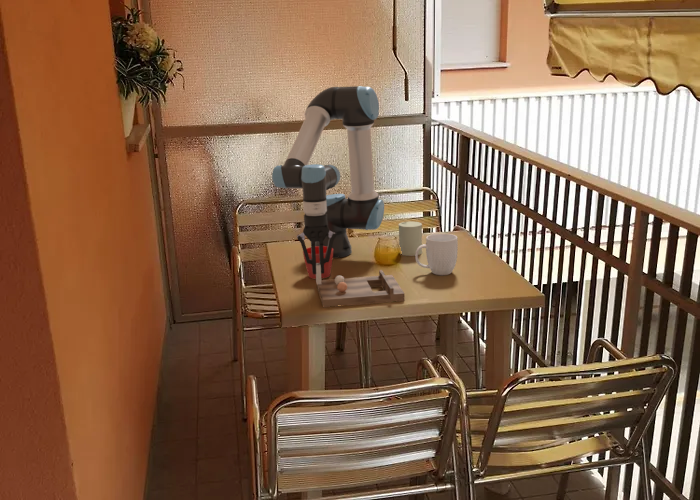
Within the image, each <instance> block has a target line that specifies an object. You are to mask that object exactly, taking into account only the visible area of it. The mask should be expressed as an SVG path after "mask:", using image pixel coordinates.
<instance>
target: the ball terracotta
mask: <svg viewBox="0 0 700 500" xmlns="http://www.w3.org/2000/svg"><path fill="white" fill-rule="evenodd" d="M337 288H338V290H339V291H340V292H344V291H346V289H347V284H346V283H345V282H340V283H339V284H338V286H337Z"/></svg>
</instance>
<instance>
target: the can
mask: <svg viewBox="0 0 700 500" xmlns="http://www.w3.org/2000/svg"><path fill="white" fill-rule="evenodd" d="M422 229H423V224H422V222H419V221H413V220H410V221H403V222H399V223H398V246H399V245H400V247H401V251H402V255H401V256H406V257H415V254H416V250H417V248H418V247H419V246H421V245H423V238H422V236H423V231H422ZM422 254H423V248H421V249H420V250H419V252H418V256H420V255H422Z"/></svg>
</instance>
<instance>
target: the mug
mask: <svg viewBox="0 0 700 500" xmlns="http://www.w3.org/2000/svg"><path fill="white" fill-rule="evenodd" d="M458 245H459V244H458V236H457V235H455V234H452V233H444V232H443V233H431V234H428V235H427V236H426V237H425V244H424V243H422V245H421V246H419V247H418V248H417V250H416V254H415V256H414V257H415V262H416V264H417V265H418V266H419V267H421V268H424V269H430V271H431V273H432V274H434V275H436V276H449V275H451V273H452V272H453V270H454V269H455V267H456V263H457V262H458V261H457V259H458V249H459V248H458ZM421 248H422V249H425V253H426V261H427V264H424V263H421V262H420V259H419V255H418V252H419V250H420V249H421Z"/></svg>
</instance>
